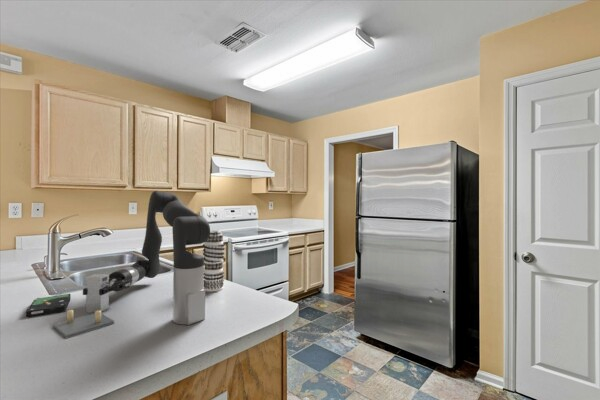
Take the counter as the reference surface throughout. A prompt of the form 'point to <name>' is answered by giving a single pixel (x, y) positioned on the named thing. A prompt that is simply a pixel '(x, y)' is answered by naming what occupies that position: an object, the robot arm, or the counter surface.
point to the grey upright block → (96, 292)
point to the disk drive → (48, 305)
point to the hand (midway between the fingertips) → (92, 292)
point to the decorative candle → (213, 261)
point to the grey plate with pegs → (82, 323)
